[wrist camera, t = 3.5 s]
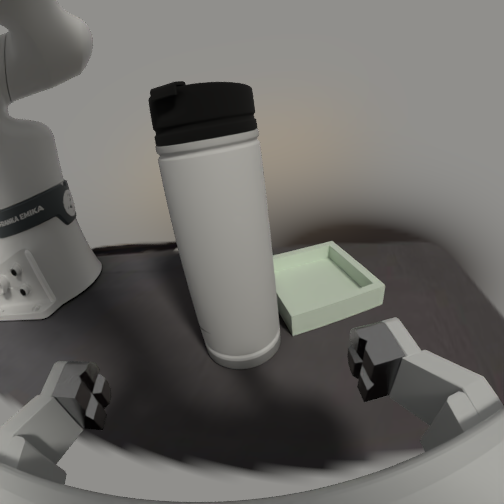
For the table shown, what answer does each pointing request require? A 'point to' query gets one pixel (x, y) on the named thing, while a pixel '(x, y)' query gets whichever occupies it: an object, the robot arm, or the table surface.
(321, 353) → the table surface
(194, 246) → the travel mug
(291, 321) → the tray
